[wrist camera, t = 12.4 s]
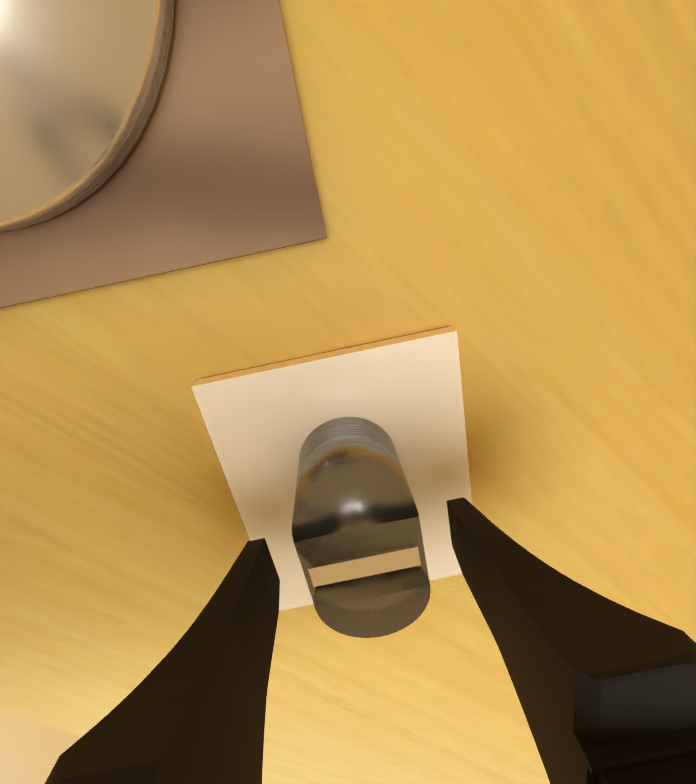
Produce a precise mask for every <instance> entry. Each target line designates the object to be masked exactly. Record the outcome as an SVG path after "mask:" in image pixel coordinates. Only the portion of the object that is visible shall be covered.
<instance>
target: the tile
mask: <svg viewBox="0 0 696 784" xmlns="http://www.w3.org/2000/svg"><path fill="white" fill-rule="evenodd" d="M191 388H192V391H193V393H194V396H195V398H196V401H197V404H198V406H199V409H200V412H201V414H202V417H203V419H204V422H205V425H206V427H207V430H208V432H209V435H210V438H211V440H212V443H213V445H214V448H215V451H216V453H217V456H218V459H219V461H220V464H221V466H222V469H223V472H224V474H225V477H226V479H227V482H228V485H229V487H230V490H231V492H232V495H233V498H234V500H235V503H236V506H237V508H238V511H239V513H240V516H241V519H242V521H243V524H244V526H245V529H246V532H247V534H248V537H249V539H250V541H252V540H257V539H262V538H265V540H266V543H267V546H268V548H269V551H270V554H271V557H272V559H273V562H274V565H275V568H276V570H277V573H278V576H279V579H280V597H279V611H281V610H286V609H291V608H296V607H301V606H306V605H311V604H314V603H313V600H312V597H311V594H310V591H309V588H308V585H307V582H306V579H305V575H304V572H303V569H302V566H301V563H300V560H299V557H298V554H297V551H296V548H295V545H294V542H293V538H292V519H293V510H294V501H295V492H296V483H297V474H298V464H299V455H300V451H301V447H302V445H303V443H304V441H305V439H306V438H307V437H308V435H309V434H310V433H311V432H312V431H313V430H314V429H315V428H317V427H318V426H319V425H321V424H323V423H325V422H327V421H329V420H332V419H336V418H341V417H358V418H363V419H366V420H369V421H371V422H373V423H375V424H377V425H378V426H380V427H381V428H382V429H383V430H385V431H386V433H387V434H388V435H389V436H390V438H391V440H392V442H393V444H394V447H395V449H396V452H397V455H398V458H399V460H400V463H401V466H402V469H403V471H404V474H405V477H406V480H407V482H408V485H409V488H410V491H411V494H412V496H413V499H414V502H415V505H416V507H417V510H418V514H419V519H420V526H421V532H422V538H423V545H424V551H425V557H426V563H427V570H428V576H429V580H434V579H439V578H444V577H449V576H454V575H459V574H462V571H461V569H460V566H459V563H458V561H457V558H456V555H455V552H454V550H453V547H452V542H451V534H450V526H449V518H448V509H447V500H452V499H457V498H462V497H464V498H465V499H467V500H468V501H469V502H470V503H471V504H472V496H471V484H470V473H469V462H468V451H467V440H466V429H465V417H464V406H463V395H462V384H461V373H460V362H459V350H458V339H457V331H456V330H455V329H453V328H452V327H450V326H449V327H445V328H440V329H435V330H430V331H426V332H421V333H416V334H411V335H407V336H402V337H397V338H392V339H388V340H383V341H378V342H373V343H369V344H364V345H359V346H354V347H350V348H345V349H340V350H335V351H331V352H326V353H321V354H316V355H312V356H307V357H302V358H297V359H293V360H288V361H283V362H278V363H274V364H269V365H264V366H259V367H255V368H250V369H245V370H240V371H236V372H231V373H226V374H221V375H217V376H212V377H207V378H202V379H198V380H197V381H196V382H195V383H194V384H193V385H192V386H191Z"/></svg>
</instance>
